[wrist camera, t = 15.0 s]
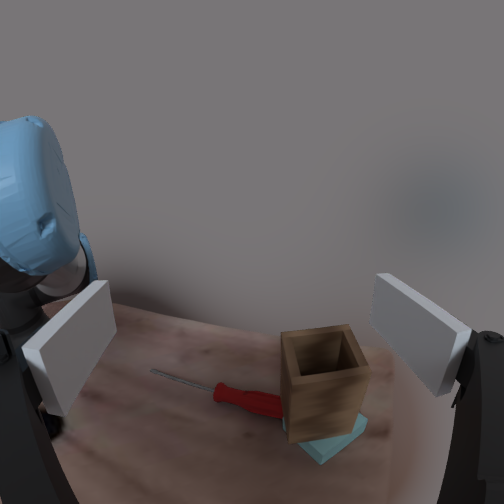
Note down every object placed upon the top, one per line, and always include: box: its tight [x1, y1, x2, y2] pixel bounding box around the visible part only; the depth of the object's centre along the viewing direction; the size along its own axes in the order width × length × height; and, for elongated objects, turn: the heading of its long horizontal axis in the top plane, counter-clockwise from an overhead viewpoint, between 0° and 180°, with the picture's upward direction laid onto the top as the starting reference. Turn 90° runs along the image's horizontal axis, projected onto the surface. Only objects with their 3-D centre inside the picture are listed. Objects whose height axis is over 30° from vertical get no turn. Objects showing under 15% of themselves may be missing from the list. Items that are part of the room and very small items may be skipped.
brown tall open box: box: [280, 324, 372, 444], centre depth 33 cm, size 8×8×12 cm
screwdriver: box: [150, 369, 284, 419], centre depth 43 cm, size 4×25×4 cm, turn 68°
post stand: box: [283, 413, 368, 465], centre depth 34 cm, size 8×8×9 cm
